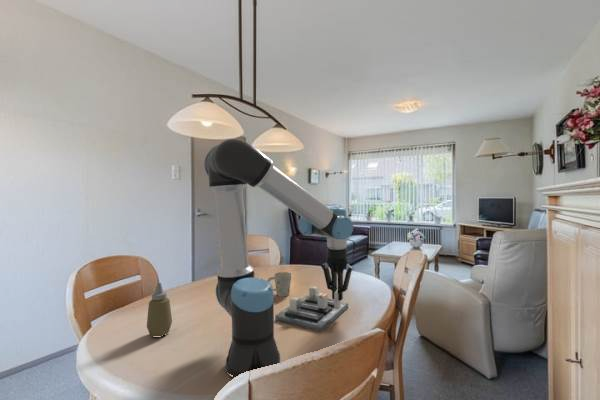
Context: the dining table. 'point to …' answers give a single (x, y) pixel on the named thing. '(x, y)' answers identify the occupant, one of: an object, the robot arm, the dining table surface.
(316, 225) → the robot arm
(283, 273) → the mug
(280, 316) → the panel
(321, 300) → the block
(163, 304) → the squeeze bottle
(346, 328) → the dining table surface
